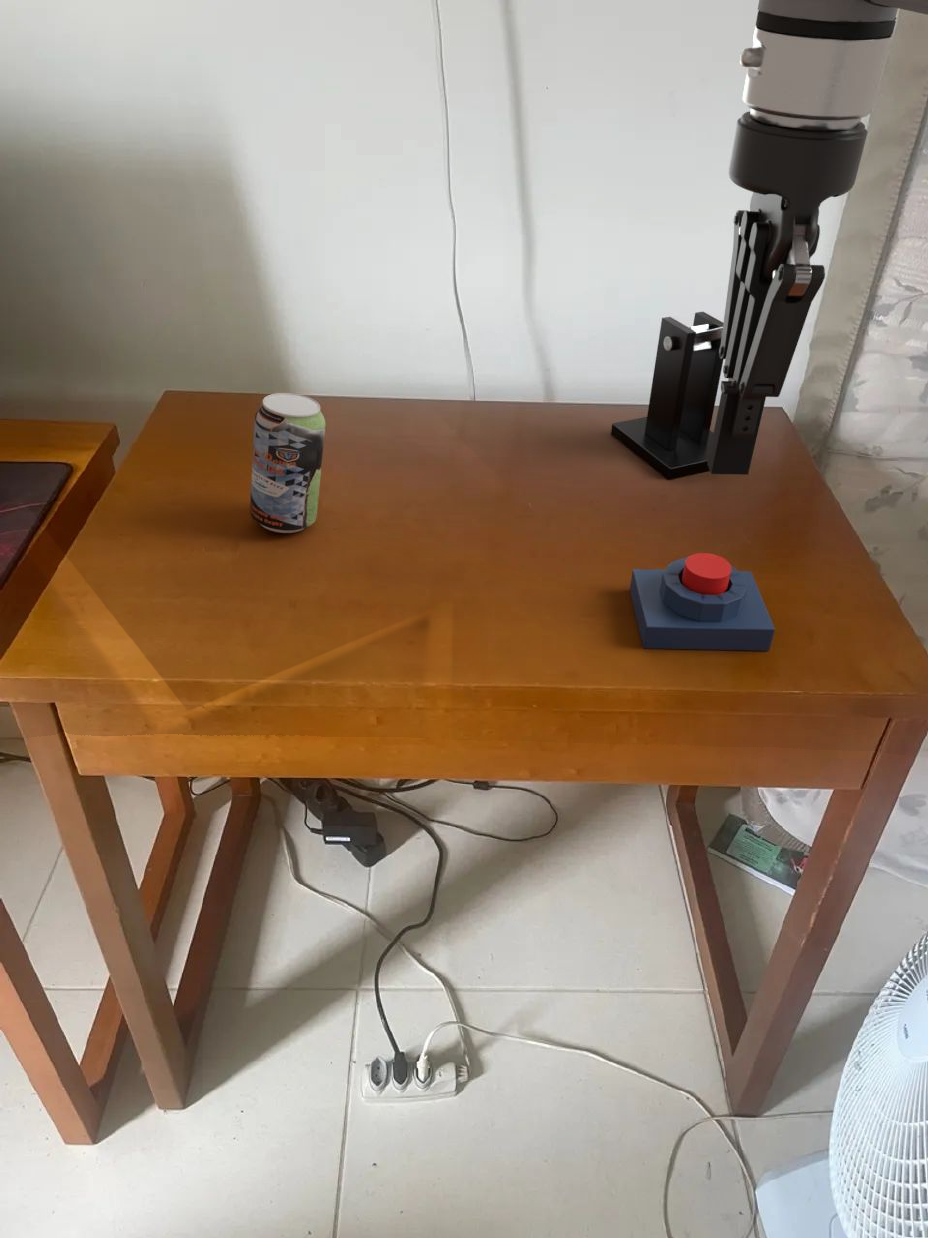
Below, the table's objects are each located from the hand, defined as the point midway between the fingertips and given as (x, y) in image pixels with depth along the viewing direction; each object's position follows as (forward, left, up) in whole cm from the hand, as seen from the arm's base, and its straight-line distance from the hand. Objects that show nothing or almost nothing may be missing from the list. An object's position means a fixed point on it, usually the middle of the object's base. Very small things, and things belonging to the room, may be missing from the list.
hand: (727, 468), depth 72 cm
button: (0, 0, -10) cm, 10 cm away
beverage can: (+33, +18, -14) cm, 40 cm away
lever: (+16, -21, 0) cm, 26 cm away
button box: (0, 0, -14) cm, 14 cm away
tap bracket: (+21, -22, -14) cm, 33 cm away
